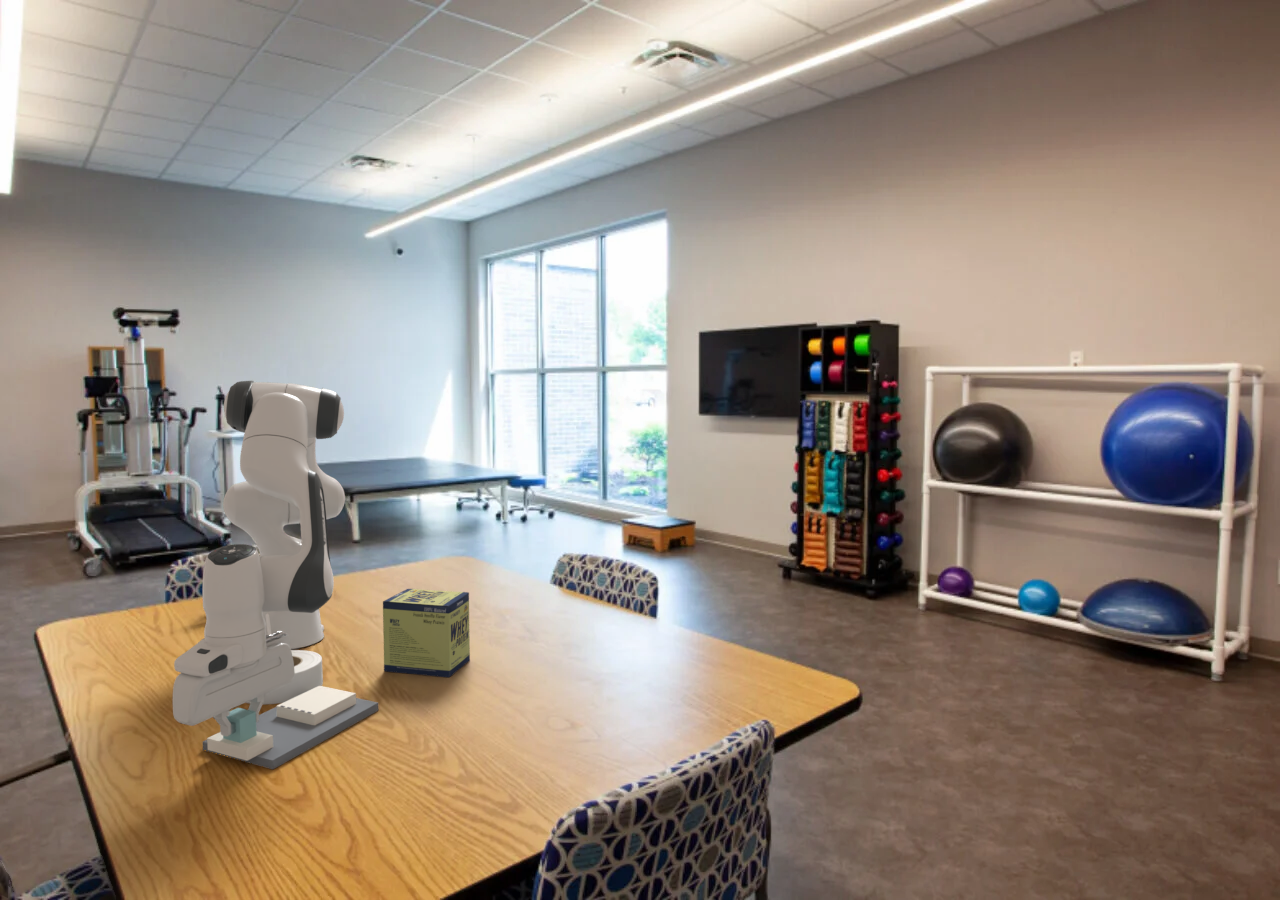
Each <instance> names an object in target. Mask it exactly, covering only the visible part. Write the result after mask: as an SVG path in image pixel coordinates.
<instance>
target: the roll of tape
mask: <svg viewBox="0 0 1280 900" xmlns="http://www.w3.org/2000/svg"><path fill="white" fill-rule="evenodd" d="M291 652H292V656H293V662H294V670H295V675H294V678H293V680H292V682H290V683H288V684H286V685H284V686H281V687H279V688H277V689H275V690H272V691H270V692H268V693H266V694H264V702H263V704H262V705H275V704H277V705H278V704H281V703H284V702H286V701H288V700H290V699H292V698H294V697H296V696H298V695H301V694H303V693H305V692H307V691H309V690H311V689H313V688H315V687H318V686H323V685H324V684H323V683H324V678H323V673H324V672H323V657H322V655H320V654H319V653H318V652H315V651H312V650H311V651H310V650H306V649H305V650H303V649H300V650H299V649H291ZM250 703H251V701H248V702H245V703H244V704H249V705H250Z"/></svg>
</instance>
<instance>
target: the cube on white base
mask: <svg viewBox="0 0 1280 900" xmlns="http://www.w3.org/2000/svg"><path fill="white" fill-rule="evenodd" d="M229 713H230V715H229V716H226V717H227V719H228V720H229V721H230V722H234V723H236V727H235V729H236V732H235V733H233V734H231V735H229V736H227V737H226V736H223V735H221V733H220V731H218V732H217V733H215V734H212V735H211V736H209V737H207V738H206V740H207V746H208V750H210V751H214V752H217V753H221V754H225V755H228V756H232V757H235V758H239V759H243V760H246V761H248V760H250V759H251V758H253V757H255V756H257V755H259V754H261V753H263V752H265V751H267V750H269V749H270V748H272V747H273V735H269V734H265V733H261V732H257V731H256V712H254V711H250V710H248V709H245V708H241V707H235V709H234V708H233V709H231V710H229Z"/></svg>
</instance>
